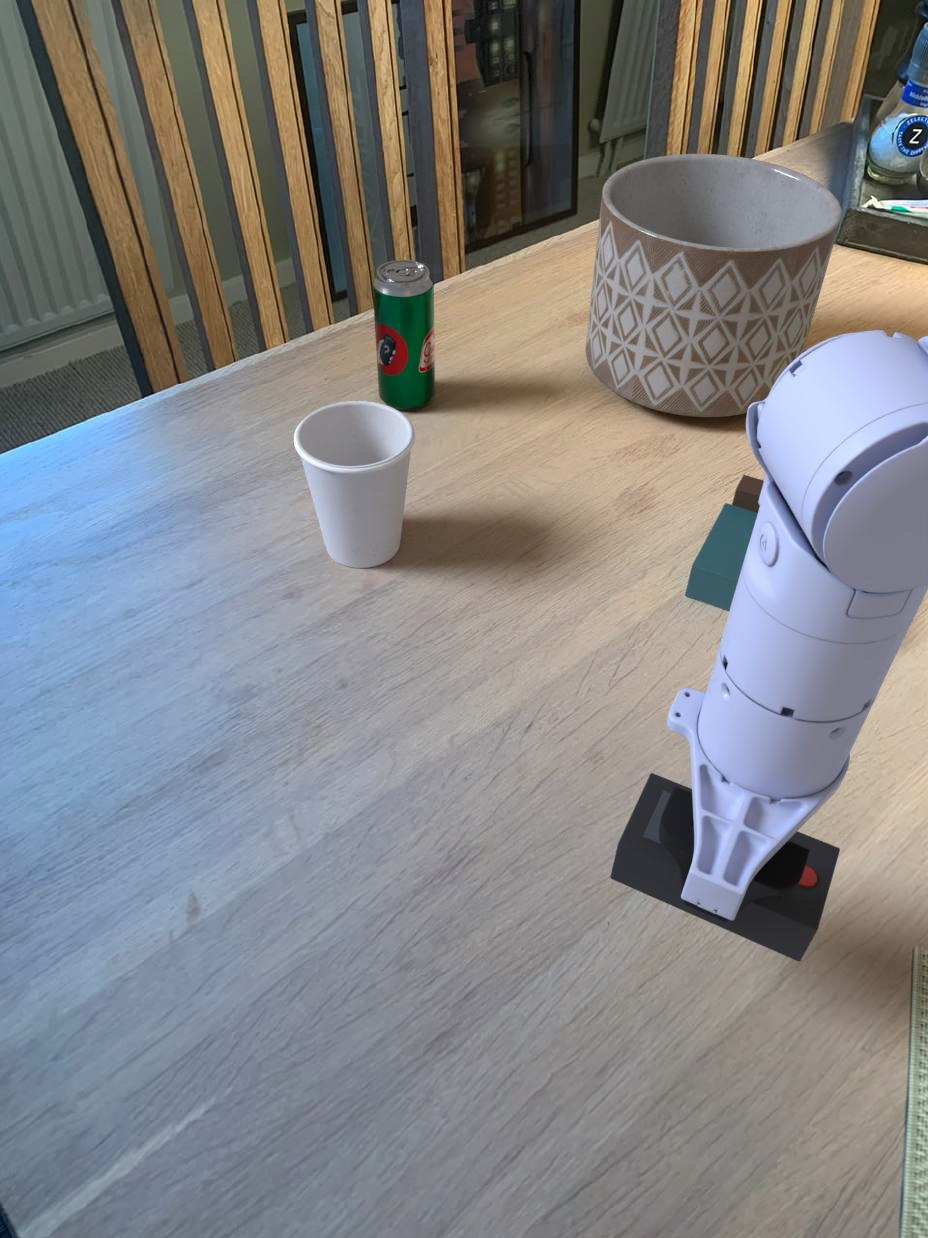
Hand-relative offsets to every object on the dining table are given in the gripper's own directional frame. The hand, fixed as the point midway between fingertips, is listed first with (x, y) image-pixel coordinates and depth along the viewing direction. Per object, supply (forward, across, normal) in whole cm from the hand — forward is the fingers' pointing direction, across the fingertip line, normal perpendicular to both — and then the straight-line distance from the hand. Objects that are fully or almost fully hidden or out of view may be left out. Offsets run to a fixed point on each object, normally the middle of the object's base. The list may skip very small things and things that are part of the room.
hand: (723, 861), depth 46 cm
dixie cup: (+10, -20, -32) cm, 39 cm away
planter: (+10, -55, -18) cm, 59 cm away
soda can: (+10, -40, -39) cm, 56 cm away
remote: (+2, 0, 0) cm, 2 cm away
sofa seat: (+9, -30, -3) cm, 32 cm away
